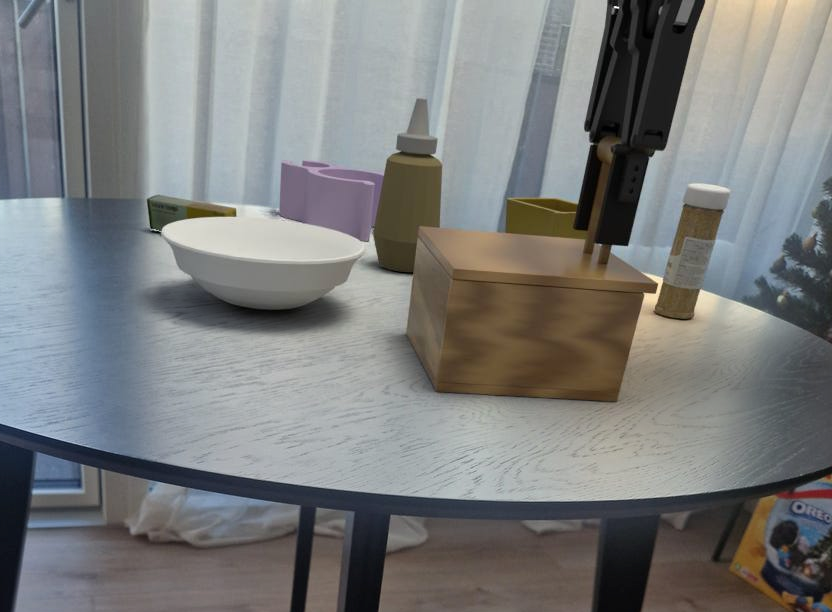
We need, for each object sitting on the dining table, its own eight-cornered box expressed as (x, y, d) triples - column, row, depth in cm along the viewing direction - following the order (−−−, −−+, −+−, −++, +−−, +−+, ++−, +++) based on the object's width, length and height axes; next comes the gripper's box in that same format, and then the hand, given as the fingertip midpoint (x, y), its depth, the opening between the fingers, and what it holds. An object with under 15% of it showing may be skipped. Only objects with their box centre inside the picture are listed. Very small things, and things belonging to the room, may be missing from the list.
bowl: (318, 279, 104) (322, 218, 101) (391, 330, 89) (399, 261, 86) (142, 279, 97) (140, 213, 93) (190, 335, 82) (190, 260, 79)
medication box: (148, 232, 117) (144, 197, 115) (161, 227, 119) (157, 193, 117) (227, 246, 113) (225, 211, 111) (239, 241, 115) (238, 206, 112)
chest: (560, 343, 91) (581, 248, 86) (617, 402, 78) (645, 294, 73) (405, 333, 89) (417, 235, 84) (435, 391, 76) (452, 279, 71)
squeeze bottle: (381, 257, 117) (398, 93, 107) (442, 267, 115) (465, 102, 105) (360, 268, 111) (376, 95, 101) (425, 279, 109) (447, 104, 99)
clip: (258, 213, 135) (260, 160, 131) (322, 209, 142) (325, 159, 138) (352, 242, 123) (357, 185, 119) (416, 236, 131) (422, 183, 127)
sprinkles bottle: (653, 307, 108) (687, 180, 101) (693, 313, 107) (730, 186, 100) (653, 316, 104) (688, 185, 97) (694, 322, 103) (732, 191, 96)
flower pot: (541, 273, 118) (556, 196, 113) (592, 290, 112) (611, 210, 107) (491, 277, 113) (505, 197, 108) (543, 295, 108) (559, 212, 103)
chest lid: (590, 249, 86) (616, 130, 81) (656, 294, 73) (692, 155, 67) (417, 235, 84) (432, 112, 79) (452, 279, 71) (473, 134, 65)
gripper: (588, -109, 72) (529, 213, 85) (678, -140, 57) (590, 257, 70) (678, -97, 73) (606, 220, 86) (791, -124, 58) (683, 264, 71)
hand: (599, 236), depth 78 cm, fingers closed on chest lid, 5 cm apart
